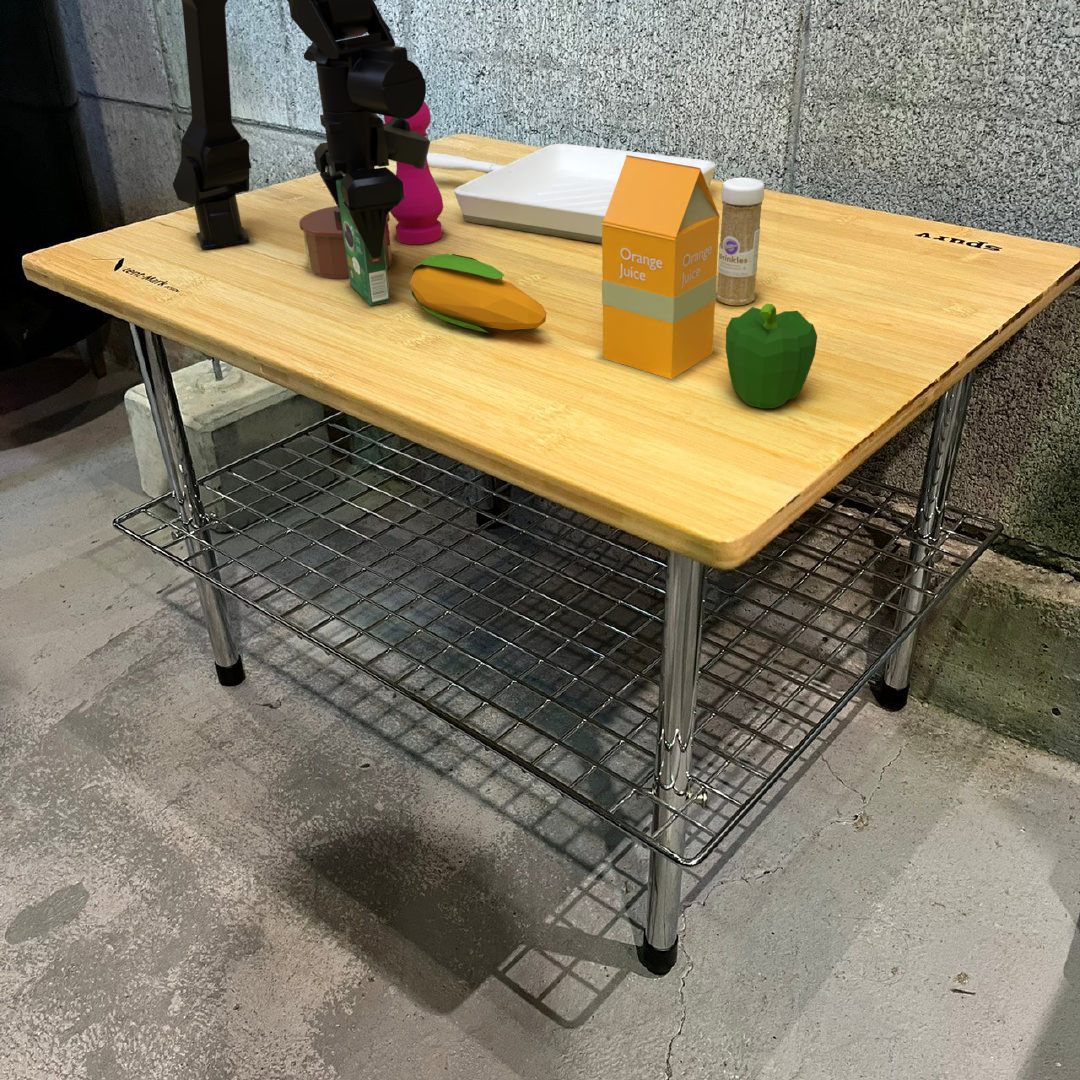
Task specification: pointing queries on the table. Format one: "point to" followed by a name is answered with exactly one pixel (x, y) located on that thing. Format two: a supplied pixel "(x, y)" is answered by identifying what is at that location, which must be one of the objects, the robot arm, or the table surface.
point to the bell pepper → (769, 355)
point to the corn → (473, 294)
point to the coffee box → (363, 261)
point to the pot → (334, 255)
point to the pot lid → (324, 222)
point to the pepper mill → (418, 194)
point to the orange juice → (659, 268)
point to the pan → (548, 188)
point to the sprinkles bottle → (739, 240)
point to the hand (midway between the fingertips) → (366, 245)
